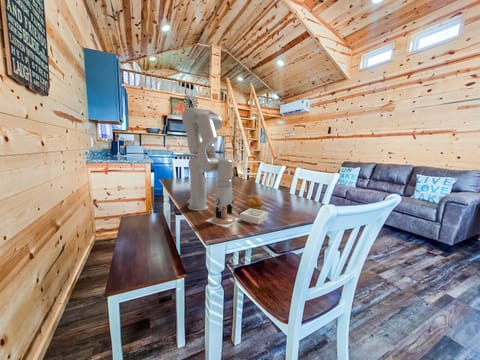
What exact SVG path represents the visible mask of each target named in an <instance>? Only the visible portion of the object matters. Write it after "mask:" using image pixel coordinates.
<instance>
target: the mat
mask: <svg viewBox="0 0 480 360" xmlns="http://www.w3.org/2000/svg"><path fill="white" fill-rule="evenodd" d="M234 217H235V216H234ZM212 219H213V217H211V218H208V219H206V220H205V222H208V223H210V224H214V225H217V226H221V227H224V228H229V227H230V226H232V225H234V224H236V223H238V222H240V221H241V220H240V217H235V222H233V223H231V224H217V223H214V222H213V220H212Z"/></svg>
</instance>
